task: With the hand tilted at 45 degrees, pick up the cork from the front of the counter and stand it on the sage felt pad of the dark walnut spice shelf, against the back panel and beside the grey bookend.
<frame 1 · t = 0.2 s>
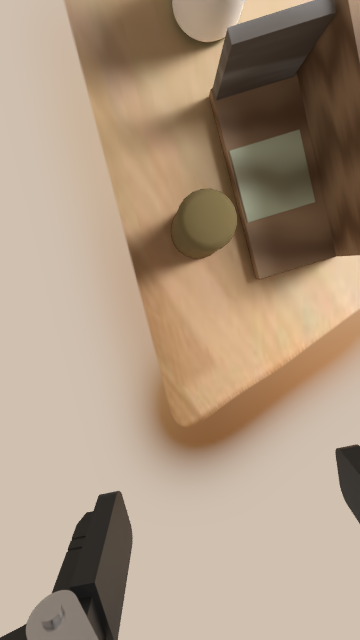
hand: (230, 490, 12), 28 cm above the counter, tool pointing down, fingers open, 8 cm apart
cork: (197, 231, 38), on the counter
can: (206, 9, 35), on the counter
spice shelf: (277, 178, 38), on the counter
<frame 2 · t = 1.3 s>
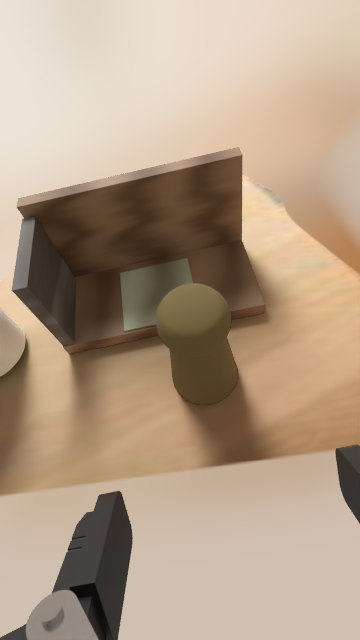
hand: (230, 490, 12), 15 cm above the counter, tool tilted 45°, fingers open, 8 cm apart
cork: (204, 373, 32), on the counter
spice shelf: (159, 294, 37), on the counter
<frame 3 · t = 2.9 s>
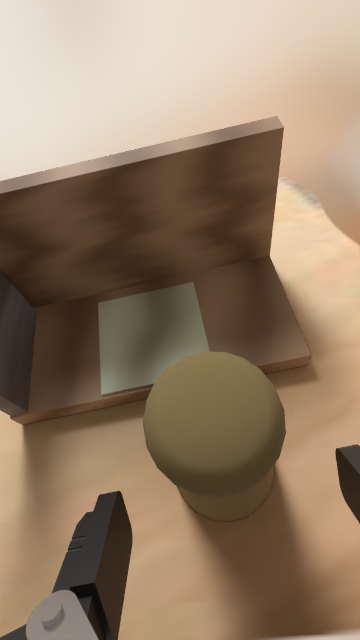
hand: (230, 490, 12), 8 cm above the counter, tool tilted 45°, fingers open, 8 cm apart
cork: (222, 464, 21), on the counter
spice shelf: (154, 333, 26), on the counter
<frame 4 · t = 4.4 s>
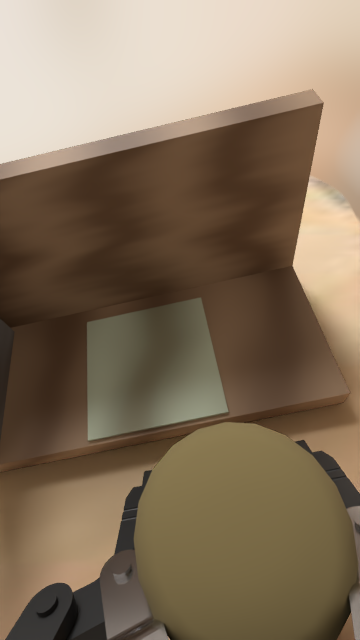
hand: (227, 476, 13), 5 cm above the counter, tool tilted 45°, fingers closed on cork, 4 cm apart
cork: (240, 533, 16), on the counter, touching gripper
spice shelf: (154, 359, 22), on the counter
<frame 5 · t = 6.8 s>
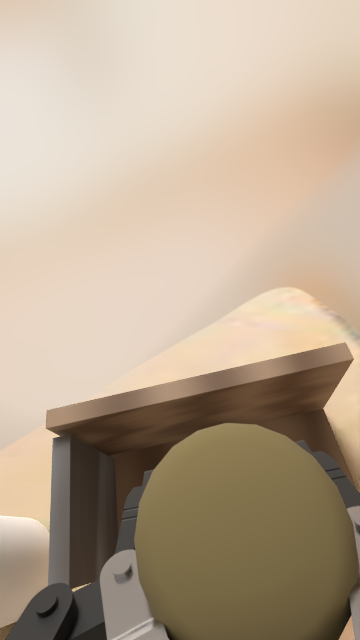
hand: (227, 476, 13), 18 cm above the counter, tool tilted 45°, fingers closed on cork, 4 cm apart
cork: (241, 533, 16), point 13 cm above the counter, touching gripper
can: (19, 566, 28), on the counter
spice shelf: (221, 482, 29), on the counter
when the fingers open (8 cm above the counter, at t = 9.5 s): cork drops 1 cm, resting on spice shelf.
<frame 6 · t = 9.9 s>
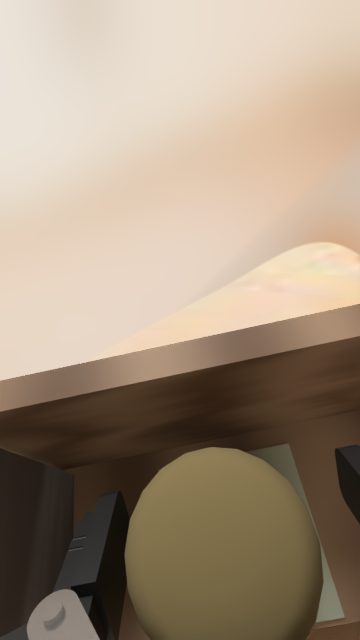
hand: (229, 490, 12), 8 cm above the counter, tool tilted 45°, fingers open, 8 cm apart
cork: (229, 541, 17), point 2 cm above the counter, touching spice shelf
spice shelf: (235, 513, 19), on the counter
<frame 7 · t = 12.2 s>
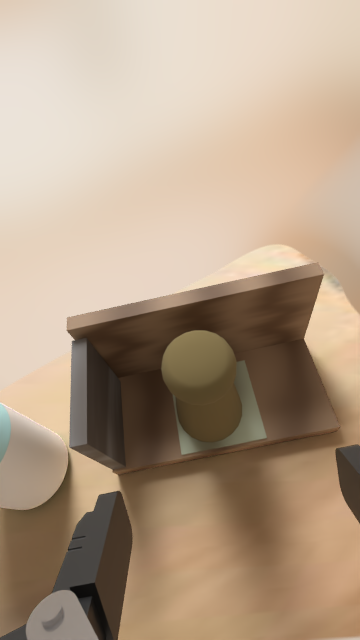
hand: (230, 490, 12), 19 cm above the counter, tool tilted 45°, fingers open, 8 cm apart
cork: (209, 409, 32), point 2 cm above the counter, touching spice shelf
can: (36, 468, 33), on the counter
spice shelf: (213, 400, 33), on the counter
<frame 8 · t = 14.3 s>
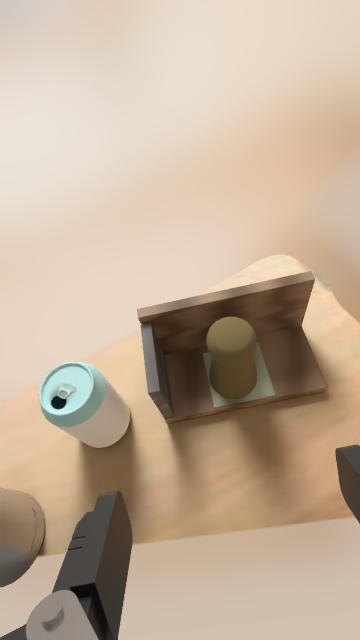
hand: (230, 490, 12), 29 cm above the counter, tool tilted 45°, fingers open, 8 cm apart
cork: (233, 376, 43), point 2 cm above the counter, touching spice shelf
can: (105, 421, 45), on the counter
spice shelf: (235, 371, 45), on the counter
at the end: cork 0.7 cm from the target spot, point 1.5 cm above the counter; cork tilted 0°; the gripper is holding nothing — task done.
